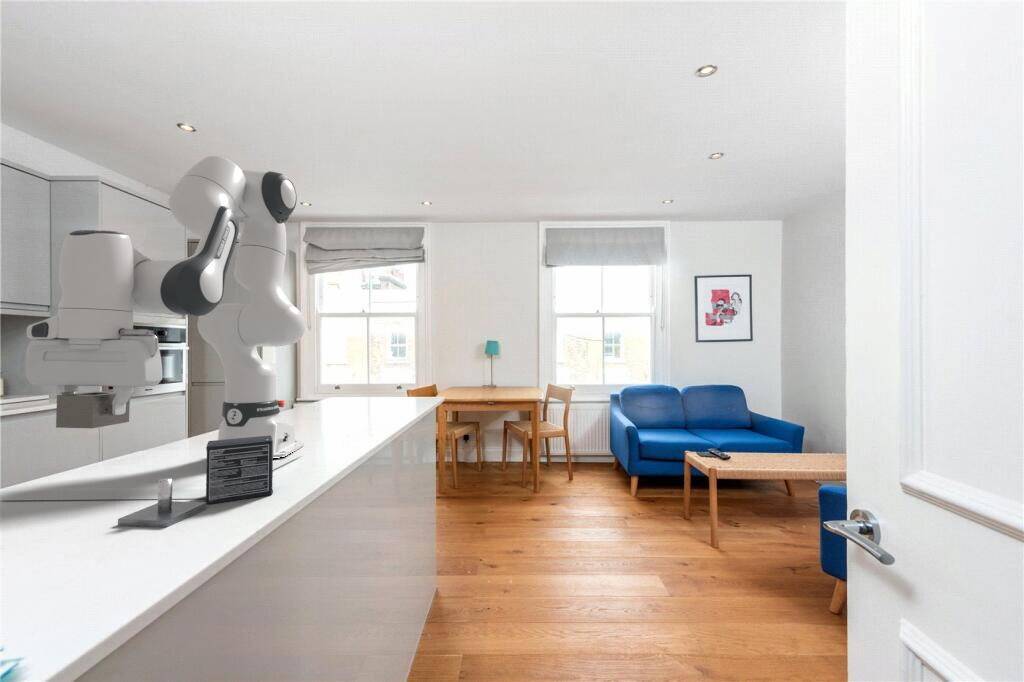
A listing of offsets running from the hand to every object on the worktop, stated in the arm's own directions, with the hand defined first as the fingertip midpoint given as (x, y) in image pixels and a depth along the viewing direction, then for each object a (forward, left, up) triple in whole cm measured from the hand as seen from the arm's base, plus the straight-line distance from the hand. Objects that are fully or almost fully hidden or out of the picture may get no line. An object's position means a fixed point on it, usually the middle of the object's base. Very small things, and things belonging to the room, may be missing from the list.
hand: (94, 413), depth 70 cm
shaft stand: (-2, +11, -17) cm, 20 cm away
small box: (-13, +16, -17) cm, 27 cm away
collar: (0, 0, -2) cm, 2 cm away
